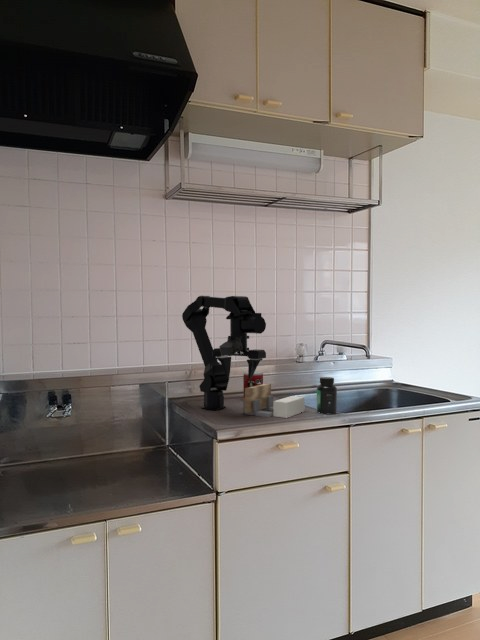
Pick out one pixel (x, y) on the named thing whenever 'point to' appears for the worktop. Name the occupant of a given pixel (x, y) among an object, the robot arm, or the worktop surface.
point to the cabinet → (278, 407)
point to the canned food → (252, 380)
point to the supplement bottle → (326, 396)
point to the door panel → (257, 396)
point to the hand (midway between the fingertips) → (238, 378)
